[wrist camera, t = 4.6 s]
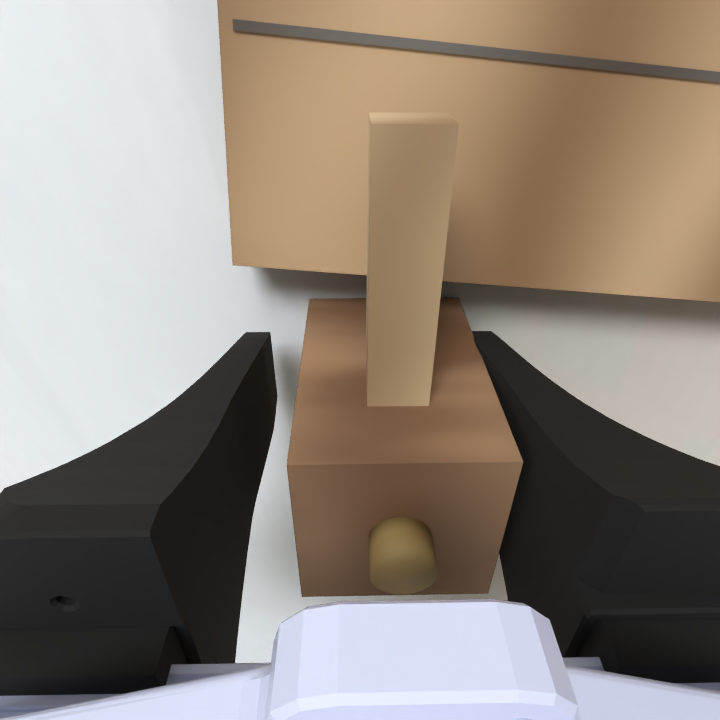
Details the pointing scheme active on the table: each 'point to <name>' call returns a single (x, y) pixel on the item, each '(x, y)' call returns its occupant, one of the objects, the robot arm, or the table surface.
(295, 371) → the table surface
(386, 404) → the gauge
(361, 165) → the board
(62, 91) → the table surface
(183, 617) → the robot arm
